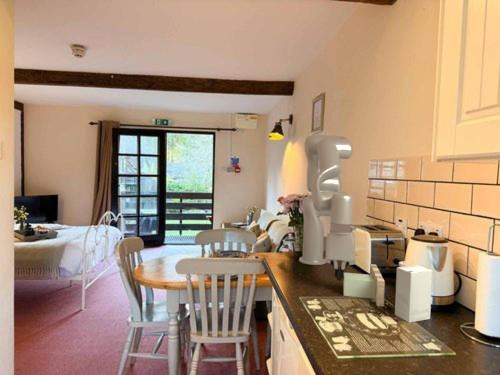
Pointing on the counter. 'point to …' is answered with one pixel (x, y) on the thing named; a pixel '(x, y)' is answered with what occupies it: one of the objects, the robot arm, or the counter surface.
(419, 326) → the counter surface
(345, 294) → the sage block
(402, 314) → the skincare box
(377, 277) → the birch board
